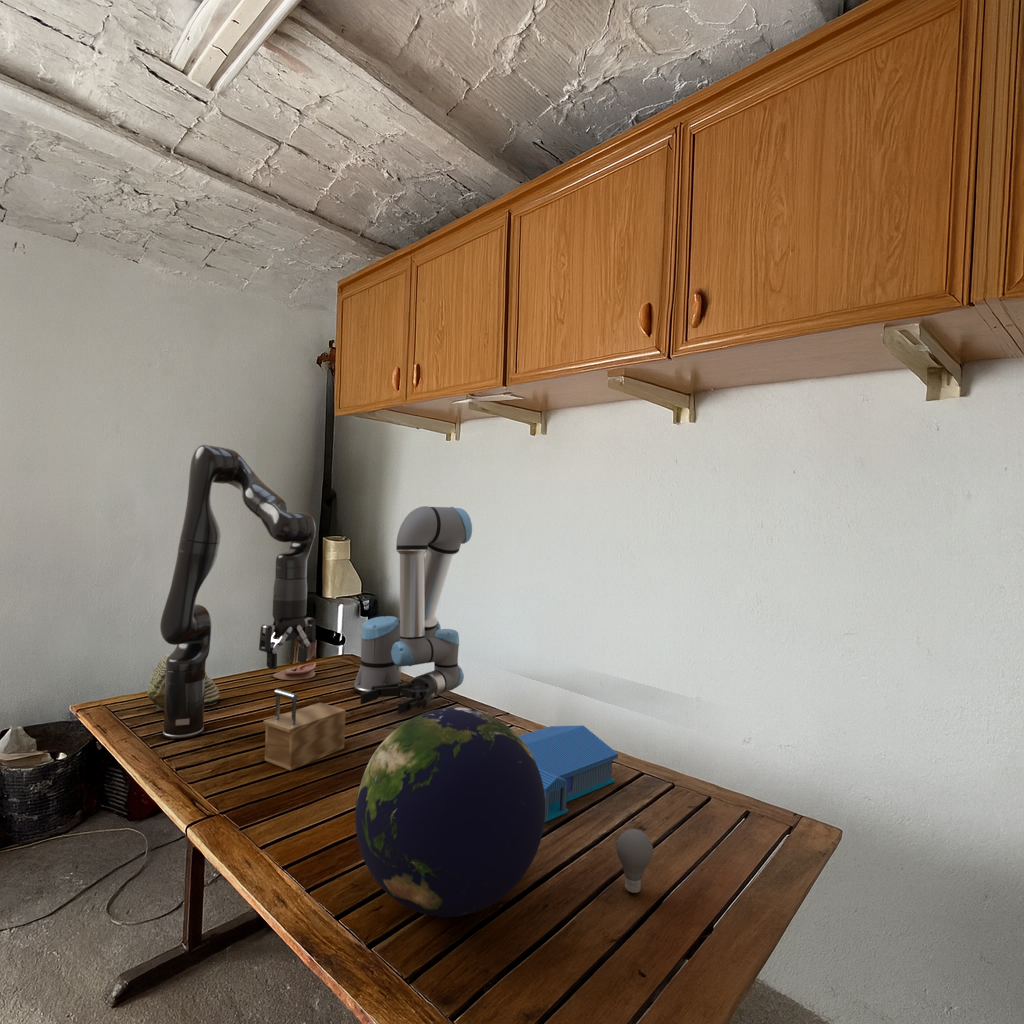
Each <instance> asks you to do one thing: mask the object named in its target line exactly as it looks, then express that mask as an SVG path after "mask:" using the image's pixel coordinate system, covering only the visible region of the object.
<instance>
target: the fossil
mask: <svg viewBox="0 0 1024 1024" xmlns="http://www.w3.org/2000/svg"><path fill="white" fill-rule="evenodd" d="M169 655H170V654H165V655H164V656H163V657H162V658H161V659H160V660H159V662H158V663H157V666H156V667H155V669H154V670H153V672H152V675H151V677H150V680H149V684H148V688H147V697H148V699H149V700H150V701H152V703H153V704H154V706H155V711H158V712H159V711H162V712H163V711H164V705H165V674H166V659H167V658H168V656H169ZM220 698H221V696H220V690H219V688H218V686H217V685H216V683H215V682H214V681H213V679H212V678H211V677H209V675H208V674H207V672H206V671H205V693H204V707H207V706H213V705H215V704H217V703H218V701H219V699H220Z"/></svg>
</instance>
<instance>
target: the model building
mask: <svg viewBox="0 0 1024 1024" xmlns="http://www.w3.org/2000/svg"><path fill="white" fill-rule="evenodd" d="M518 736H519V737H520V738H521V740H522V741H523V742H524V743H525V745H526V746H527V747H528V749H529V751H530V752H531V754H532V756H533V757H534V759H535V761H536V764H537V767H538V769H539V772H540V775H541V779H542V783H543V788H544V794H545V823H547V822H550V821H552V820H554V819H556V818H558V817H560V816H563V815H565V814H567V813H569V809H568V808H567V803H569V802H571V801H573V800H575V799H577V798H580V797H582V796H586V795H587V794H589V793H590V794H591V793H592V792H594V791H597V790H599V789H601V788H604V787H606V786H608V785H611V784H614V783H616V779H615V778H613V777H612V775H613V761H615V760H617V759H619V753H618V752H617V751H616V750H615V749H613V748H612V747H611V746H609V745H608V744H607V743H606V742H604V741H603V740H602V738H600V737H599V736H597V735H596V734H594V733H593V732H592V731H591V730H590V729H588V728H587V727H586V726H585V725H553V726H552V725H551V726H546V727H544V728H540V729H537V730H534V731H531V732H530V731H529V732H527V733H524V734H520V735H518Z"/></svg>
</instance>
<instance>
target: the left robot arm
mask: <svg viewBox="0 0 1024 1024" xmlns="http://www.w3.org/2000/svg"><path fill="white" fill-rule="evenodd" d="M213 483H215V484H225V485H226V484H228V485H230V486H232V487H234V488H236V489H237V490H239V491H240V492H241V499H242V502H243V504H244V506H245V507H246V508H247V509H248V510H249V512H251V513H252V514H253V515H255V517H257V518H258V519H259V520H260V521H261V522H262V525H263V526H264V528H265V530H266V532H267V533H268V535H269V536H270V537H271V538H272V539H273V540H274V541H277V542H280V543H290V545H289V547H288V548H287V550H285V551H283V552H280V553H278V554H277V555H276V557H275V565H274V566H275V568H274V582H273V587H272V591H273V592H272V617H273V623H272V624H261V626H260V631H259V632H260V633H259V643H258V649H259V651H261V652H264V653H266V667H267V668H268V669H269V670H277V668H278V653H277V652H278V650H279V649H280V647H281V646H283V645H284V643H285V642H289V641H291V640H293V641H296V642H297V643H298V644H299V645H298V646H297V661H298V662H299V663H306V662H307V660H308V657H309V655H308V654H309V646H310V645H311V644H312V643H315V642H316V639H317V638H316V637H317V636H316V633H317V631H316V628H317V627H316V626H317V625H316V619H315V618H313V617H308V616H307V608H308V607H307V604H308V603H307V602H308V601H307V599H308V582H307V581H308V580H307V579H308V578H307V575H308V574H307V573H308V560H309V556H310V554H311V550H312V546H313V544H314V540H315V537H316V532H317V531H316V530H317V529H316V528H317V527H316V522H315V519H314V517H313V516H312V515H311V514H310V513H308V512H306V511H305V512H304V511H288V509H289V508H288V504H287V503H286V501H285V500H284V498H282V497H281V496H280V495H278V493H276V492H274V491H273V490H272V489H271V488H270V487H268V486H267V485H266V484H265V483H264V481H262V480H261V479H260V478H259V477H258V475H257V474H256V473H255V472H254V471H253V470H252V468H251V467H250V466H249V464H248V463H247V462H246V460H245V459H244V458H243V457H242V456H241V455H240V454H239V453H238V452H237V451H235V450H234V449H230V448H229V447H221V446H215V445H211V444H210V445H209V444H202V445H198V447H197V448H196V449H195V450H194V452H193V454H192V457H191V460H190V466H189V475H188V488H187V497H186V498H187V499H186V507H185V513H184V518H183V525H182V528H181V533H180V537H179V542H178V546H177V547H178V548H177V554H176V559H175V565H174V570H173V574H172V580H171V584H170V588H169V591H168V594H167V595H168V596H167V599H166V600H165V601H166V602H165V605H164V608H163V611H162V613H161V614H162V615H161V618H160V623H159V631H160V634H161V637H162V638H163V640H164V641H165V642H166V643H167V644H169V645H172V646H176V647H175V649H173V651H172V652H171V653H170V654H168V655H169V656H168V658H167V659H166V674H165V705H164V710H163V730H162V737H164V738H166V739H169V740H185V739H190V738H191V739H192V738H194V737H197V736H199V735H202V734H203V732H204V730H205V729H204V727H205V725H204V722H205V721H204V718H205V706H204V693H205V672H206V664H207V663H206V662H207V658H208V656H209V653H210V649H211V639H212V617H211V614H210V612H209V610H208V609H207V608H206V607H205V606H203V605H201V604H196V601H197V597H198V594H199V591H200V589H201V587H202V586H203V583H204V582H205V581H206V579H207V577H208V576H209V575H210V572H211V571H212V569H213V567H214V566H215V563H216V561H217V559H218V555H219V554H218V553H219V549H220V544H221V538H222V536H221V529H220V526H219V523H218V521H217V518H216V515H215V514H214V511H213V508H212V503H211V495H212V486H213Z"/></svg>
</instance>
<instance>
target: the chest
mask: <svg viewBox="0 0 1024 1024" xmlns="http://www.w3.org/2000/svg"><path fill="white" fill-rule="evenodd" d="M346 713H347V712H346ZM346 713H344V714H341V715H339V716H336V717H333V718H330V719H327V720H325V721H322V722H319V723H316V724H313V725H311V726H308V727H305V728H302V729H299V730H296V731H294V732H291V733H288V732H285V731H282V730H279V729H277V728H274V727H271V726H268V725H265V739H264V761H265V762H268V763H270V764H273V765H275V766H277V767H281V768H283V769H286V770H287V771H294V770H295V769H298V768H301V767H303V766H305V765H308V764H310V763H312V762H314V761H317V760H320V759H322V758H324V757H326V756H329V755H332V754H334V753H336V752H339V751H341V750H343V749H345V739H346Z"/></svg>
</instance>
